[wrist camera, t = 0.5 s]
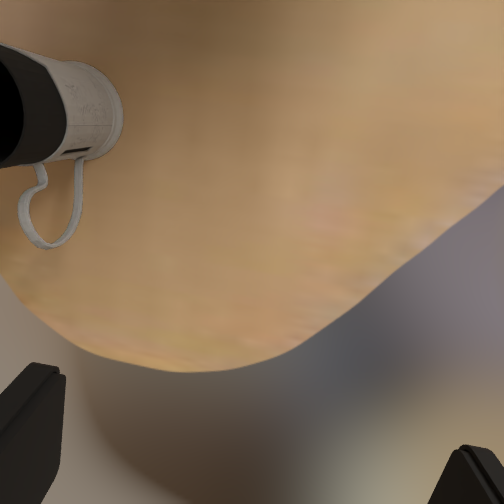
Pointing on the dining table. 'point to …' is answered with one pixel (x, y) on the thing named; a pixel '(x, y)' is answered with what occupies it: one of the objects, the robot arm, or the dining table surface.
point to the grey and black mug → (54, 122)
